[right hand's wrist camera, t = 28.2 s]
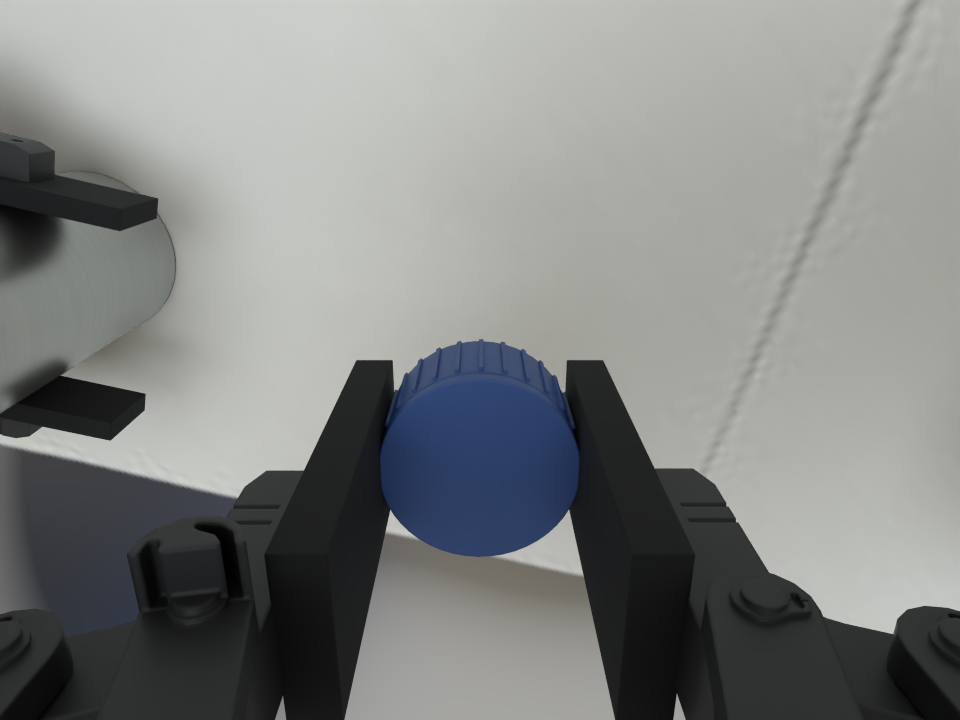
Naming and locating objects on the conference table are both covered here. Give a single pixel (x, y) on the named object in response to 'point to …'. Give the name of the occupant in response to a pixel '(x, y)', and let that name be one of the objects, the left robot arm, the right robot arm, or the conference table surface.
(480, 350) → the cap
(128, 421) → the left robot arm
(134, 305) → the bottle
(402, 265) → the conference table surface
